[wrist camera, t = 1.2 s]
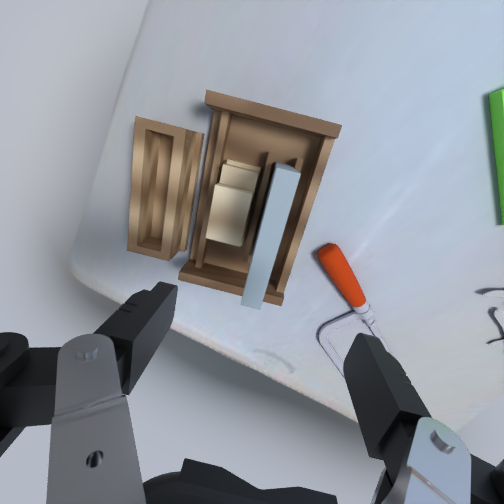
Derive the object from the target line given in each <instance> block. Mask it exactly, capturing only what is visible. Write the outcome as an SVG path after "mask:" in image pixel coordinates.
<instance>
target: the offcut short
mask: <svg viewBox="0 0 504 504" xmlns="http://www.w3.org/2000/svg"><path fill="white" fill-rule="evenodd" d="M253 194H254V191H250V190H246V189H242V188H239V187H235V186H231V185H227V184H223V183H218V184H216V185H215V189H214V194H213V200H212V205H211V211H210V216H209V222H208V227H207V233H206V238H208V239H212V240H215V241H219V242H223V243H227V244H231V245H235V246H239V247H240V245H241V243H242V240H243V236H244V232H245V227H246V223H247V219H248V215H249V211H250V207H251V202H252V198H253Z"/></svg>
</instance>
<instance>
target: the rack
mask: <svg viewBox="0 0 504 504" xmlns="http://www.w3.org/2000/svg"><path fill="white" fill-rule="evenodd" d="M204 103H205V104H206V105H208V106H209V107H211V108H212V109H213V110H214V113H213V119H212V125H211V132H210V138H209V144H208V150H207V156H206V162H205V168H204V175H203V181H202V187H201V193H200V199H199V205H198V211H197V218H196V224H195V230H194V236H193V242H192V248H191V255H190V259H189V260H188V262H187V263H186V264H185V265H184V266H183V268H182V269H181V270H180V271H179V277H178V280H181V281H185V282H189V283H193V284H197V285H201V286H205V287H209V288H212V289H216V290H220V291H224V292H228V293H232V294H236V295H240V296H243V292H244V288H245V283H246V279H247V275H248V270H249V266H250V262H251V257H252V253H253V249H254V245H255V241H256V237H257V234H258V230H259V226H260V222H261V218H262V214H263V211H264V207H265V203H266V199H267V195H268V191H269V188H270V184H271V180H272V176H273V172H274V168H275V165H276V162H279V163H283V164H287V165H290V166H292V167H293V168H294V169H295V170H297V171H298V172H299V173H301V175H300V179H299V182H298V185H297V189H296V192H295V195H294V199H293V202H292V205H291V209H290V212H289V215H288V219H287V222H286V225H285V229H284V232H283V235H282V238H281V242H280V245H279V248H278V252H277V255H276V258H275V262H274V265H273V268H272V272H271V275H270V278H269V282H268V285H267V288H266V292H265V295H264V298H263V302H267V303H271V304H275V305H279V306H282V303H283V300H284V290H285V287H286V284H287V281H288V278H289V275H290V272H291V269H292V266H293V263H294V260H295V257H296V254H297V251H298V248H299V245H300V242H301V239H302V236H303V233H304V230H305V227H306V224H307V221H308V218H309V215H310V212H311V209H312V206H313V203H314V200H315V197H316V194H317V191H318V188H319V185H320V182H321V179H322V176H323V173H324V170H325V167H326V164H327V161H328V158H329V155H330V152H331V149H332V146H333V143H334V140H335V139H336V138H338V136H339V133H340V130H341V127H342V125H340V124H336V123H332V122H328V121H324V120H320V119H317V118H313V117H309V116H305V115H301V114H297V113H294V112H290V111H286V110H282V109H278V108H275V107H271V106H267V105H263V104H259V103H255V102H252V101H248V100H244V99H240V98H236V97H233V96H229V95H225V94H221V93H217V92H213V91H210V90H206V95H205V102H204ZM227 159H233V160H237V161H241V162H245V163H249V164H253V165H257V166H260V167H261V172H260V176H259V180H258V184H257V188H256V192H255V196H254V200H253V204H252V209H251V213H250V217H249V221H248V225H247V229H246V233H245V237H244V241H243V244H242V246H241V245H240V247H239V246H235V245H231V244H227V243H223V242H219V241H215V240H212V239H208V238H206V233H207V227H208V222H209V216H210V211H211V205H212V200H213V194H214V189H215V185H216V184H218V183H220V177H221V172H222V167H223V164H227Z"/></svg>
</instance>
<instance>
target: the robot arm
mask: <svg viewBox="0 0 504 504" xmlns="http://www.w3.org/2000/svg"><path fill="white" fill-rule="evenodd" d="M177 291H178V287H177V285H173V284H169V283H165V282H161V281H160V282H158V284H157V285H156V286H155V287H154V288H153V289H152V290H151V291H148V290H142V291H140V292H137V293H135V294H133V295H132V296H131V297H130V298H129V299H128V300H127V301H126V302H125V304H123V305H122V306H121V307H120V308H119V310H117V311H116V312H115V313H114V314H113V315H111V316H110V317H109V318H108V319H107V320H106V321H105V322H104V323H103V324H102V325H101V326H100V327H99V328H98V329H97V330H96V331H95V332H94V333H93V334H86V335H81V336H78V337H76V338H74V339H72V340H70V341H68V342H67V343H65V344H64V345H63V346H62V347H49V348H47V347H46V348H45V347H43V348H29V344H28V339H27V338H26V337H25V336H24V335H22V334H18V333H13V332H4V333H0V457H1V456H2V454H3V453H4V452H5V451H6V450H7V448H8V447H9V446H10V445H11V444H12V443H13V441H14V440H15V439H16V438H17V437H18V436H19V434H20V433H21V432H22V431H23V429H24V428H25V427H26V426H37V425H49V424H51V439H50V453H49V469H48V485H47V501H46V504H337V498H336V496H335V495H331V494H327V493H322V492H319V491H314V490H311V489H307V488H303V487H289V488H277V489H266V490H261V489H258V488H256V487H254V486H252V485H251V484H249V483H247V482H246V481H244V480H242V479H241V478H239V477H237V476H235V475H234V474H232V473H231V472H229V471H227V470H226V469H224V468H222V467H218V466H215V465H211V464H206V463H202V462H198V461H194V460H191V459H186V458H185V459H184V462H183V466H182V469H181V471H180V472H171V473H166V474H162V475H159V476H157V477H154V478H152V479H150V480H148V481H146V482H144V483H142V478H141V472H140V467H139V461H138V456H137V450H136V445H135V440H134V434H133V429H132V423H131V418H130V412H129V407H128V403H127V398H126V396H125V395H122V394H126V395H129V394H130V393H131V391H132V389H133V388H134V386H135V384H136V382H137V381H138V379H139V378H140V376H141V374H142V373H143V371H144V369H145V368H146V366H147V365H148V363H149V361H150V360H151V358H152V356H153V355H154V353H155V351H156V350H157V348H158V347H159V345H160V343H161V342H162V340H163V338H164V337H165V335H166V333H167V332H168V330H169V328H170V326H171V324H172V321H173V317H174V311H175V304H176V298H177ZM343 373H344V377H345V380H346V383H347V387H348V390H349V393H350V396H351V400H352V403H353V406H354V409H355V412H356V416H357V419H358V422H359V425H360V429H361V432H362V435H363V438H364V441H365V445H366V448H367V451H368V454H369V457H372V458H376V459H380V460H384V463H385V466H386V467H385V468H384V470H383V471H382V473H381V476H380V478H379V481H378V484H377V487H376V490H375V493H374V495H373V498H372V501H371V504H504V459H503V461H502V462H500V464H499V465H498V466H497V467H495V466H493V465H491V464H489V463H487V462H485V461H483V460H481V459H480V458H478V457H476V456H474V455H472V454H470V453H469V450H468V448H467V447H466V445H465V444H464V442H463V441H462V440H461V439H460V438H459V437H458V435H457V434H456V433H455V432H453V431H452V430H451V429H450V428H449V427H447V426H446V425H445V424H443V423H441V422H440V421H438V420H435V419H433V418H432V417H431V415H430V413H429V412H428V410H427V408H426V407H425V405H424V403H423V402H422V400H421V398H420V397H419V395H418V393H417V392H416V390H415V388H414V386H413V385H411V381H410V380H409V378H408V376H406V373H405V371H404V370H403V368H402V366H401V365H400V363H399V362H398V361H397V360H396V359H395V358H394V357H393V356H392V355H391V354H390V353H389V352H387V351H386V349H385V347H384V345H383V344H382V342H381V340H380V339H379V338H378V337H375V336H371V335H367V334H363V333H359V334H357V336H356V337H355V339H354V341H353V344H352V346H351V348H350V350H349V352H348V354H347V356H346V358H345V360H344V365H343Z"/></svg>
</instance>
